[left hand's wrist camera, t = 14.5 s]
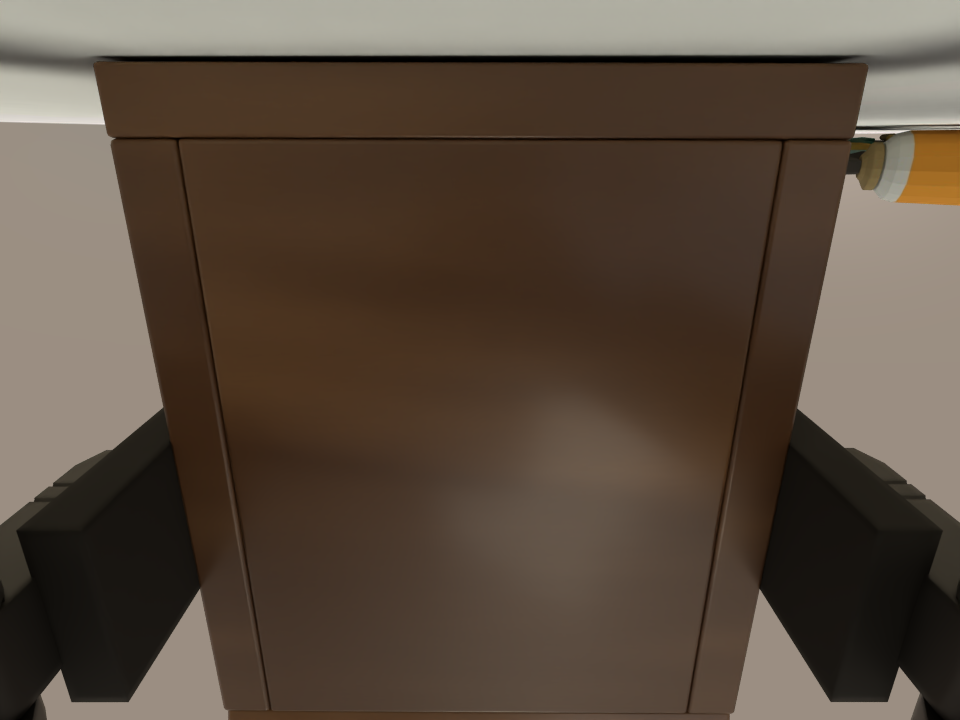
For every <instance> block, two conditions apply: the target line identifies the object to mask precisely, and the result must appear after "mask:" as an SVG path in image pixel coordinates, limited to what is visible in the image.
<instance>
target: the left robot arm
mask: <svg viewBox="0 0 960 720" xmlns="http://www.w3.org/2000/svg"><path fill="white" fill-rule="evenodd" d="M34 499H35V500H34V502H29V503H28V504H26V505H25V506H24V507H23V508H21V509H20V510H19V511H18V512H16V513H15V514H14V515H13V516H11V517H10V518H9V519H8V520H6V521H5V522H4V523H3V524H1V525H0V720H47V718H46V710H45V706H44V703H43V701H42V698H41V695H40V694H41V693H42V692H43V691H44V689H45V688H46V687H47V686H48V684H49V683H50V682H51V681H52V679H53V678H54V677H55V676H56V674H57V673H58V672H59V671H60V669H61V671H62V674H63V677H64V680H65V683H66V686H67V689H68V692H69V695H70V699H71V702H129V700H130V699H131V697H132V696H133V694H134V692H135V691H136V689H137V688H138V686H139V684H140V683H141V681H142V680H143V678H144V677H145V675H146V673H147V672H148V670H149V669H150V667H151V665H152V664H153V662H154V661H155V659H156V657H157V656H158V654H159V653H160V651H161V649H162V648H163V646H164V645H165V643H166V641H167V640H168V638H169V637H170V635H171V634H172V632H173V630H174V629H175V627H176V626H177V624H178V622H179V621H180V619H181V618H182V616H183V614H184V613H185V611H186V610H187V608H188V606H189V605H190V603H191V602H192V600H193V599H194V597H195V595H196V594H197V592H198V591H199V589H200V584H199V579H198V574H197V569H196V564H195V559H194V554H193V550H192V545H191V540H190V535H189V530H188V525H187V520H186V515H185V510H184V505H183V500H182V495H181V491H180V486H179V481H178V476H177V471H176V466H175V461H174V456H173V451H172V446H171V442H170V437H169V432H168V427H167V422H166V417H165V412H164V407H163V408H162V409H161V410H160V411H159V412H157V413H156V414H155V415H154V416H153V417H151V418H150V419H149V420H148V421H147V422H145V423H144V424H143V425H142V426H141V427H139V428H138V429H137V430H136V431H135V432H134V433H132V434H131V435H130V436H129V437H128V438H126V439H125V440H124V441H123V442H122V443H120V444H119V445H118V446H117V447H116V448H114V449H113V450H106V451H104V452H102V453H100V454H98V455H96V456H94V457H91V458H89V459H87V460H85V461H83V462H81V463H79V464H77V465H75V466H74V467H73V468H72V469H70V470H69V471H68V472H67V473H65V474H64V475H63V476H62V477H60V478H59V479H58V480H57V481H55V482H54V483H53V487H48V488H46V489H45V490H44V491H43V492H41V493H40V494H39V495H38V496H36V497H35V498H34ZM760 590H761V591H762V593H763V595H764V596H765V598H766V599H767V601H768V603H769V604H770V606H771V607H772V609H773V611H774V612H775V614H776V615H777V617H778V619H779V620H780V622H781V623H782V625H783V627H784V628H785V630H786V631H787V633H788V634H789V636H790V638H791V639H792V641H793V642H794V644H795V645H796V647H797V649H798V650H799V652H800V653H801V655H802V657H803V658H804V660H805V662H806V663H807V665H808V666H809V668H810V669H811V671H812V673H813V674H814V676H815V677H816V679H817V681H818V682H819V684H820V685H821V687H822V689H823V690H824V692H825V693H826V695H827V697H828V698H829V700H830V701H831V702H888V699H889V696H890V693H891V690H892V687H893V684H894V681H895V678H896V675H897V671H898V668H899V667H900V668H901V669H902V670H903V672H904V673H905V674H906V675H907V677H908V678H909V679H910V680H911V682H912V683H913V684H914V685H915V687H916V688H917V689H918V690H919V692H920V695H919V698H918V701H917V703H916V706H915V709H914V712H913V715H912V718H911V720H960V523H959V522H958V521H957V520H956V519H954V518H953V517H952V516H951V515H949V514H948V513H947V512H946V511H944V510H943V509H942V508H940V507H939V506H938V505H937V504H935V503H934V502H933V501H932V500H930V499H926V498H925V495H924V494H923V493H922V492H920V491H919V490H918V489H917V488H915V487H914V486H913V485H911V484H907V481H906V480H905V479H904V478H903V477H901V476H900V475H899V474H898V473H896V472H895V471H894V470H892V469H891V468H890V467H889V466H887V465H886V464H885V463H883V462H881V461H879V460H877V459H875V458H873V457H871V456H869V455H867V454H865V453H863V452H861V451H859V450H857V449H854V448H844V447H843V446H841V445H840V444H839V443H838V442H837V441H835V440H834V439H833V438H832V437H831V436H829V435H828V434H827V433H826V432H825V431H823V430H822V429H821V428H820V427H819V426H817V425H816V424H815V423H814V422H813V421H812V420H810V419H809V418H808V417H807V416H806V415H804V414H803V413H802V412H801V411H799V410H798V409H797V411H796V416H795V420H794V425H793V430H792V435H791V440H790V444H789V449H788V454H787V459H786V464H785V469H784V473H783V478H782V483H781V488H780V493H779V497H778V502H777V507H776V512H775V517H774V522H773V526H772V531H771V536H770V541H769V546H768V550H767V555H766V560H765V565H764V570H763V575H762V579H761V584H760Z"/></svg>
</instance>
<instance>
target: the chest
mask: <svg viewBox="0 0 960 720" xmlns="http://www.w3.org/2000/svg"><path fill="white" fill-rule="evenodd" d="M94 71H95V76H96V81H97V86H98V91H99V96H100V100H101V105H102V110H103V115H104V120H105V125H106V130H107V134H108V136H110V137H112V138H115V139H113V140H112V141H111V149H112V154H113V159H114V164H115V169H116V174H117V179H118V184H119V189H120V194H121V199H122V204H123V209H124V214H125V219H126V224H127V229H128V233H129V239H130V243H131V248H132V253H133V258H134V263H135V268H136V273H137V278H138V283H139V288H140V293H141V298H142V303H143V308H144V313H145V318H146V323H147V328H148V333H149V338H150V343H151V348H152V352H153V358H154V363H155V367H156V372H157V377H158V382H159V387H160V392H161V397H162V402H163V407H164V412H165V417H166V422H167V427H168V432H169V437H170V442H171V446H172V451H173V456H174V461H175V466H176V471H177V476H178V481H179V486H180V491H181V495H182V500H183V505H184V510H185V515H186V520H187V525H188V530H189V535H190V540H191V545H192V550H193V554H194V559H195V564H196V569H197V574H198V579H199V584H200V591H201V596H202V601H203V606H204V611H205V615H206V620H207V625H208V630H209V635H210V640H211V645H212V650H213V655H214V660H215V665H216V670H217V675H218V680H219V685H220V690H221V695H222V700H223V705H224V708H225V709H226V710H249V711H266V710H269V708H270V707H271V709H272V710H273V711H371V712H551V713H685V712H686V711H687V710H688V712H689V713H713V714H731V713H733V712H734V709H735V704H736V700H737V695H738V690H739V685H740V680H741V676H742V671H743V666H744V661H745V656H746V651H747V647H748V642H749V637H750V632H751V627H752V623H753V618H754V613H755V608H756V603H757V599H758V594H759V589H760V584H761V579H762V575H763V570H764V565H765V560H766V555H767V550H768V546H769V541H770V536H771V531H772V526H773V522H774V517H775V512H776V507H777V502H778V497H779V493H780V488H781V483H782V478H783V473H784V469H785V464H786V459H787V454H788V449H789V444H790V440H791V435H792V430H793V425H794V420H795V416H796V411H797V406H798V401H799V396H800V391H801V387H802V382H803V377H804V372H805V367H806V362H807V358H808V353H809V348H810V343H811V338H812V333H813V329H814V324H815V319H816V314H817V310H818V305H819V300H820V295H821V290H822V285H823V281H824V276H825V271H826V266H827V261H828V257H829V252H830V247H831V242H832V237H833V233H834V228H835V223H836V218H837V213H838V208H839V204H840V199H841V194H842V189H843V184H844V179H845V175H846V170H847V165H848V160H849V155H850V151H851V142H850V141H848V140H849V139H851V138H853V136H854V134H855V129H856V124H857V120H858V115H859V110H860V105H861V100H862V96H863V91H864V86H865V81H866V76H867V72H868V65H867V64H865V63H561V62H123V61H98V62H96V63H94Z"/></svg>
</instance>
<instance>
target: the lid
mask: <svg viewBox="0 0 960 720" xmlns="http://www.w3.org/2000/svg"><path fill="white" fill-rule="evenodd" d="M228 720H730V714H713V713H689V712H688V710H687V711H686V712H685V713H551V712H371V711H273V710H272V709H271V707H270V708H269V710H266V711H249V710H228Z"/></svg>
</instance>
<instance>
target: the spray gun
mask: <svg viewBox="0 0 960 720" xmlns="http://www.w3.org/2000/svg"><path fill="white" fill-rule="evenodd" d="M880 139H881V140H884V141H881V140H875V139H874V138H865V137H860V138H851V139H849V140H848V141H850V142H851V151H850V155H849V160H848V165H847V170H846V174H856V177H857V179H858V180H859V182H860V185H861V188H862V189H863V190H874V192H875V193H876V194H877V195H878V196H879V198H880V199H883V200H886V201H890V202H900V203H920V204H940V205H960V130H910V131H906V132H902V133H897V134H883V135H881V136H880Z"/></svg>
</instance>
